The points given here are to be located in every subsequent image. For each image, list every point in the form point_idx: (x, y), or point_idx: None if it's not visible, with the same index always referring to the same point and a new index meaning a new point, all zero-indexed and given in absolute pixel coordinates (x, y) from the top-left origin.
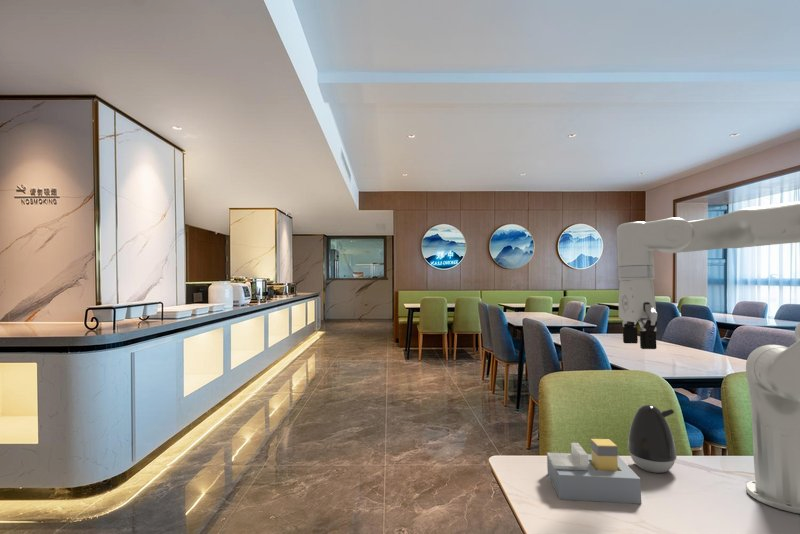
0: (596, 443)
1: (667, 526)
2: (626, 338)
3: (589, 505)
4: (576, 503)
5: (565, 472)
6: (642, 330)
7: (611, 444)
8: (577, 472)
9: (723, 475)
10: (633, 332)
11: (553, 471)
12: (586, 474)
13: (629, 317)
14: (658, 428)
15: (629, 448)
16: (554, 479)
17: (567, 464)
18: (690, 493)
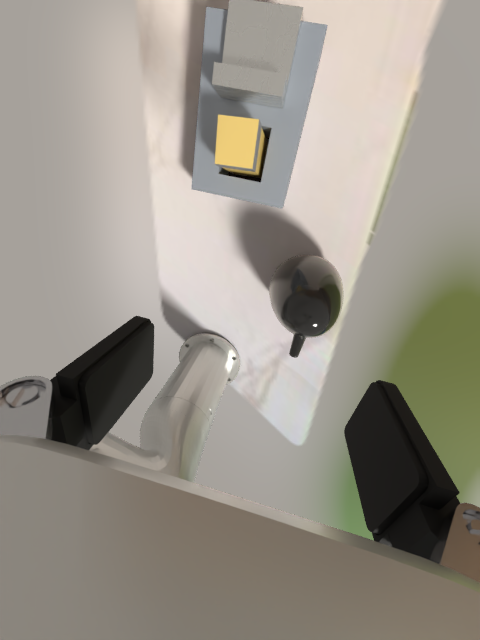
0: (229, 117)
1: (153, 189)
2: (379, 409)
3: None
4: None
5: (216, 31)
6: (46, 387)
7: (221, 154)
8: None
9: (267, 351)
10: (369, 480)
11: None
12: (207, 85)
13: (33, 508)
14: (276, 301)
15: (316, 256)
16: None
17: (232, 42)
18: (227, 278)
